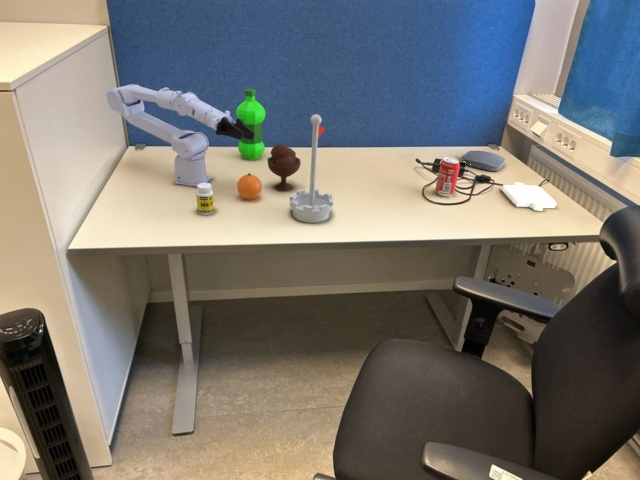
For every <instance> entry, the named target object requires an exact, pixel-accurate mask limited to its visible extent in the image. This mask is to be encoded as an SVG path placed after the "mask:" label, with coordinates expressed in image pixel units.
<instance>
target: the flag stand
mask: <svg viewBox="0 0 640 480" xmlns="http://www.w3.org/2000/svg"><path fill="white" fill-rule="evenodd" d="M310 123H311V124H312V137H311V156H310V157H311V159H310V175H309V176H310V177H309V191H306V190H305V189H304V188H302V189H298V190H296V192H295V193H291V194H290V195H289V207H290V208H291V210H292V216H293V217H294V218H295V219H296V220H298V221H300V222H302V223H303V222H304V223H310V224H315V223H322V222H325V221H327V220H328V219H329V217H330V212H331V211H333V209H334V203H335V198H333V195H332V194H331V193H329V192H328V191H326V192H324V193H321V190H320V189H318V188H316V177H317V176H316V175H317V163H318V161H317V159H318V145H319V144H318V142H319V140H318V139H319V138H320V137H321V136H322V134H323V133H324V131H325V130H326V128H325V127H324V126H321V124H322V117H321V115H320V114H316V113H315V114H312V115H311V117H310Z"/></svg>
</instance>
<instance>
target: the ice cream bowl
mask: <svg viewBox="0 0 640 480" xmlns="http://www.w3.org/2000/svg"><path fill="white" fill-rule="evenodd" d="M270 155H271V156H269V157H267V166H268V169H269V170H270V172H272V174H274V175H276V176H278V177H280V182H278V183H276V184H275V189H276V190H278V191H280V192H281V191H282V192H286V191H290V190H292V185H291V184H290V183H288V182H287V178H288V177H291V176H292V175H294V174H296V173H297V172H298V171H299V169H300V167H301V163H302V162H301V158H299V157H297V154H296V152H295V150H293V149H292V148H290V147H289V146H287V145H286V144H281V143H279V144H275V145H274V146H273V147H272V148H271V150H270Z"/></svg>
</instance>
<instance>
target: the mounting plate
mask: <svg viewBox="0 0 640 480" xmlns="http://www.w3.org/2000/svg"><path fill="white" fill-rule="evenodd" d="M501 191H502V192H503V194H504V195H505V196H507V198H508V199H509V200H510V201H511V202H512V203H513V204H514V205H515V207H517V208H531V209H533V210H534V211H537V212H542V211H544V208H547V209H548V208H549V209H555V208H556V206H557V202H556V200H554V198H552V197H551V196H550V195H549V194H548V193H547V192H546V191H545V190H544V189H543V188H542V187H540V186H538V185H537V186H536V185H525V184H524V183H522V182H515V183H514V185H513V184H512V185H511V184H510V185H509V184H503V185H502V188H501Z"/></svg>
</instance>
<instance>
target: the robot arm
mask: <svg viewBox="0 0 640 480" xmlns="http://www.w3.org/2000/svg"><path fill="white" fill-rule="evenodd" d="M105 96H106V101H107V103H108V105H109V108H110V110H112V111H114V112H116V113H118V114H120V115H121V116H122V117H123V118H124V119H125V121H127V122H128V123H129V124H131V125H132V126H134V127H136V128H138V129H140V130H142V131H144V132H146V133H148V134H149V135H152V136H154V137H157V138H158V139H160V140H162V141H164V142H166V143H168V144H171V150H172V151H173V152H175V153H176V156H175V158H174V161H173V167H174V175H175V181H174V183H175V184H177V185H183V186H189V187H191V186H192V187H197V185H198V184H200V183H209V181H210V180H211V179H212V176H208V175H207V169H206V154H207V152H206V151H207V150H208V148H209V146H210V142H209V139H208V136H207V135H205V133H203V132H201V131H197V132H196V131H193V130H187V129H186V130H185V129H180V128H178V127H176V126H174V125H171V124H169V123H168V122H165V121H164V120H161V119H159V118H157V117H155V116H153V115H152V114H149V113H147V112H145V105H144V102H150V103H156V105H157V106H158V107H159V108H162V109H166V110H170V111H174V112H177V113H178V115H179V116H182V117H184V116H188V117H190V118H193V119H194V120H196V121H198V122H200V123H201V124H203V125H205V126H208V127H209V128H210V129H213V130H215V135H216V136H226V137H228V138H229V137H230V138H233V139H235V140H236V139H237V140H241V139H242V137H244V138H246V139H249V140H253V138H254V136H255V133H254V132H253V131H251V130H250V129H249V128H248V127H247V126H246V125H245V124H244V122H243V120H241V119H240V118H237V117H236V121H235V120H234V119H233V118H232V117H231V111H229V110H225V112H223V111H221V110H219V109H217V108H216V107H214V106H212V105H210V104H208V103H206V102H204V101H203V100H201V99H200V98H199V97H198V95H197V94H196V93H194V92H192V91H187V92H186V93H183V92H182V91H181V90H176V91H174V90H170V88H169V87H163V88H160V89H159V90H154V89H150V88H147V87H143V86H141V85H139V84H134V83H129V84H127V85H123V86H118V87H116V88H109V89H108V90H107V91H106V95H105Z"/></svg>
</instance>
